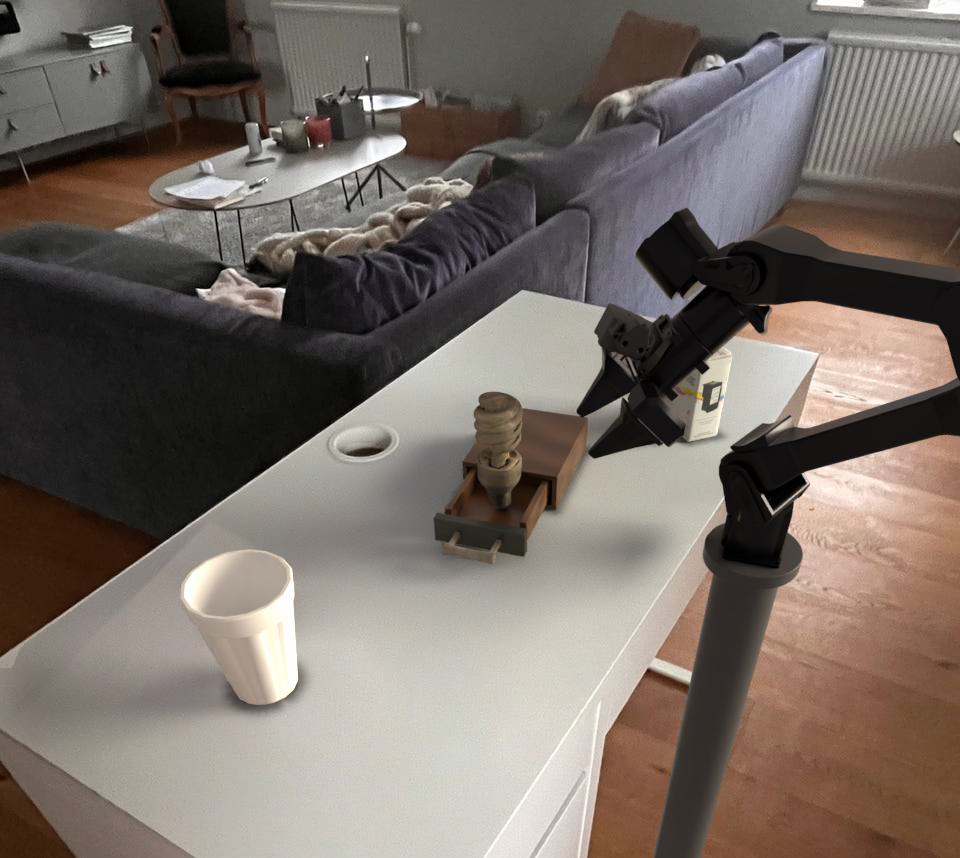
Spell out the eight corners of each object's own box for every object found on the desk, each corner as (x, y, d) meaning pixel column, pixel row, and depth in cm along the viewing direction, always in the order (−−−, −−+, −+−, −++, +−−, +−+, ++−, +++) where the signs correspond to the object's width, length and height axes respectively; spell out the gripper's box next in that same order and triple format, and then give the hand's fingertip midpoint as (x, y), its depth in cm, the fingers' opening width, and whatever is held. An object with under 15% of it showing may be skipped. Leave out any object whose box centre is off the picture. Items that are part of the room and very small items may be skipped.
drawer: (513, 577, 91) (513, 554, 89) (422, 559, 94) (420, 536, 92) (558, 490, 103) (559, 468, 101) (476, 477, 106) (475, 455, 104)
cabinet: (555, 510, 102) (557, 476, 98) (463, 494, 105) (462, 461, 102) (586, 449, 112) (588, 417, 109) (501, 436, 115) (501, 404, 112)
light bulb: (525, 521, 97) (526, 404, 87) (479, 525, 97) (475, 408, 86) (518, 494, 101) (519, 380, 91) (474, 498, 101) (469, 384, 91)
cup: (207, 667, 83) (170, 566, 74) (303, 638, 86) (278, 537, 77) (226, 736, 77) (188, 634, 68) (329, 702, 79) (306, 599, 70)
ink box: (656, 415, 118) (666, 334, 110) (685, 408, 119) (698, 328, 111) (687, 443, 112) (701, 360, 104) (718, 435, 114) (734, 353, 105)
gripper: (630, 248, 88) (526, 352, 96) (668, 318, 75) (544, 433, 82) (692, 317, 94) (589, 411, 101) (738, 394, 80) (616, 495, 88)
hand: (584, 434), depth 93 cm, fingers open, 9 cm apart
